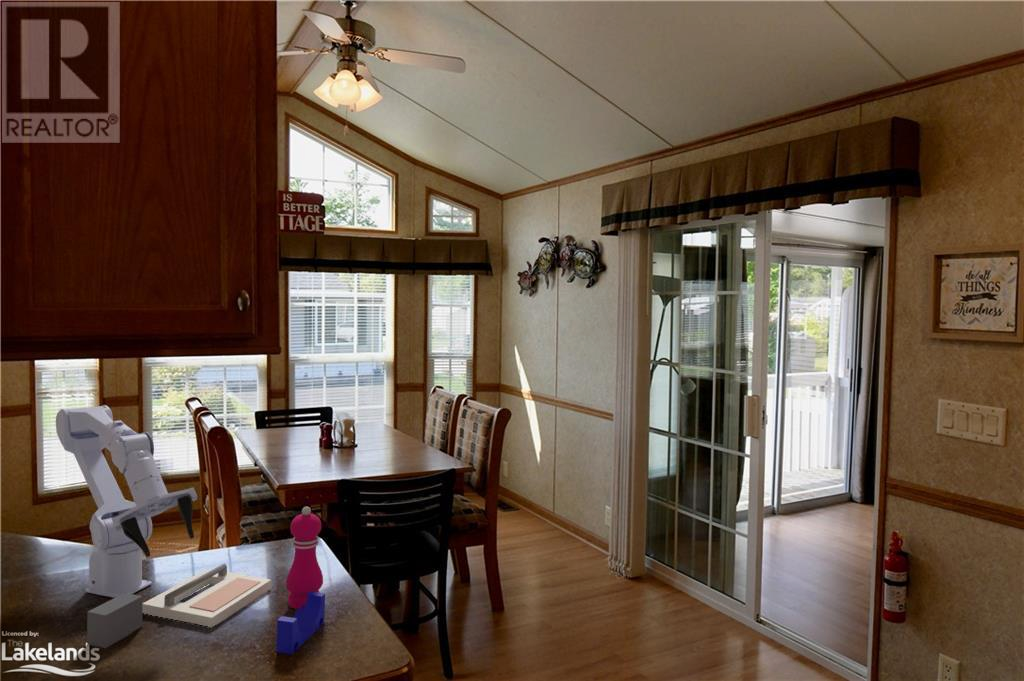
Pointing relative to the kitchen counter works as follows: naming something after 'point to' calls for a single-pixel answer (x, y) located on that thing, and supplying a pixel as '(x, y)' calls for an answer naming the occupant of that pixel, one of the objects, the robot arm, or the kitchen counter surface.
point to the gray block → (114, 620)
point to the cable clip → (301, 623)
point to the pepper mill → (304, 559)
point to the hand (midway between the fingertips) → (170, 545)
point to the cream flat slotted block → (208, 597)
